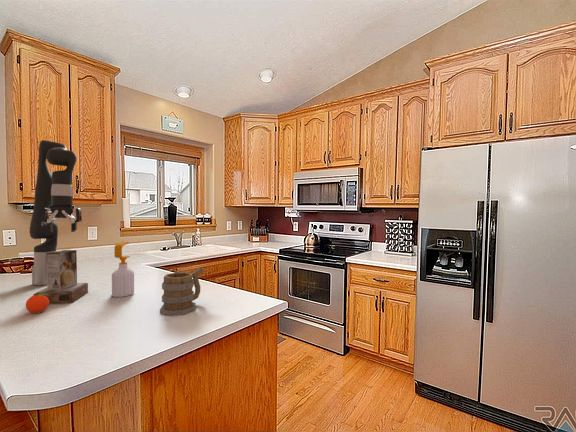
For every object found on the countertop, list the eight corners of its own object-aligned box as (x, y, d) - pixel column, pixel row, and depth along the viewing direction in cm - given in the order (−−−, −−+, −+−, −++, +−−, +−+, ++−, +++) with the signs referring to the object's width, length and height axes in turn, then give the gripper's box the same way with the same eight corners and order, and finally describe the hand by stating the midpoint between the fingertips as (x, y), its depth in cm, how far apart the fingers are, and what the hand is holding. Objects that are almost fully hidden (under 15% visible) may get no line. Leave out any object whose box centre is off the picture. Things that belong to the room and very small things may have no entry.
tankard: (174, 318, 108) (175, 277, 107) (154, 311, 114) (154, 273, 114) (215, 303, 125) (215, 268, 124) (195, 298, 131) (195, 265, 131)
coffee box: (64, 284, 135) (64, 249, 135) (77, 284, 135) (77, 249, 134) (46, 289, 126) (46, 252, 126) (60, 290, 125) (60, 252, 125)
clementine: (50, 307, 118) (50, 290, 118) (54, 311, 114) (54, 293, 114) (23, 312, 112) (23, 294, 112) (27, 317, 108) (27, 297, 108)
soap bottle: (138, 292, 140) (138, 241, 140) (122, 298, 131) (121, 243, 131) (124, 291, 143) (124, 240, 143) (107, 296, 134) (107, 242, 134)
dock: (31, 306, 120) (31, 293, 120) (53, 294, 136) (53, 283, 136) (71, 303, 123) (71, 291, 123) (88, 292, 140) (87, 282, 140)
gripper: (38, 194, 124) (38, 232, 124) (76, 195, 128) (76, 232, 128) (47, 195, 131) (48, 231, 132) (84, 195, 135) (84, 231, 135)
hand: (62, 231), depth 130 cm, fingers open, 8 cm apart
